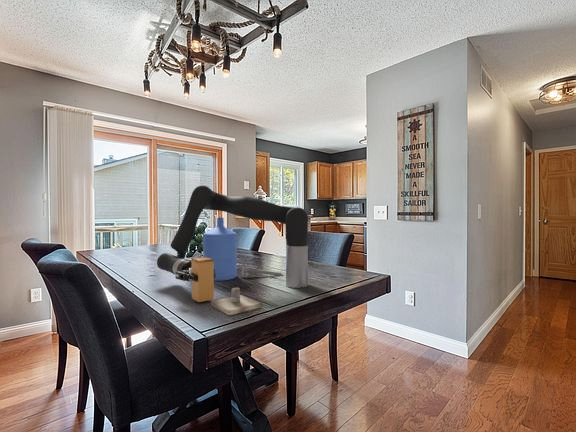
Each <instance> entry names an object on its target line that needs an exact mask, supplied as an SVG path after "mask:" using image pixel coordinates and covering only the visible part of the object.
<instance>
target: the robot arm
mask: <svg viewBox="0 0 576 432" xmlns="http://www.w3.org/2000/svg"><path fill="white" fill-rule="evenodd" d="M203 210H209V211H218V212H224V213H228V214H232V215H235V216H237V217H240V218H241V217H242V218H246V219H249V220H254V221H262V222H275V223H280V224H283V225H285V286H286V287H288V288H292V289H293V288H294V289H299V288H300V289H302V288H308V287H309V262H308V250H309V237H308V236H309V235H308V233H309V231H308V230H309V229H308V228H309V227H308V226H309V225H308V224H309V220H310V218H309V214H308V212H307V211H306V210H305V209H304V208H302V207H294V206H293V207H292V206H283V205H279V204H276V203H272V202H270V201H267V200H263V199H260V198H256V197H252V196H246V195H236V196H235V195H234V196H232V195H225V194H222V193H218V192H216V191H214V190H212V189H211V188H210V187H208V186H207V185H198V186H196V187H195V188H194V189H193V191H192V192H191V195H190V198H189V202H188V204H187V207H186V210H185V214H184V216H183V218H182V221H181V223H180V225H179V227H178V229H177V231H176V233H175V235H174V237H173V239H172V240H171V243H170V248H171V249H173V250H174V251H176V255H173V254H171V253H168V252H164V253H161V254H160V255H159V256H158V257H157V260H156V266H157V267H158V268H159V269H160V270H163V271H164V272H165V271H166V272H168V273H171V274H173V275H175V279H176V280H179V281H183V282H192V280H193V281H195V282H198V275H196V274H194V273H192V263H191V259H187V258H186V255H187V254H186V253H187V251H188V248H189V246H190V244H191V242H192V240H193V238H194V236H195V232H196V229H197V224H198V220H199V217H200V215H201V213H202V212H203ZM215 277H216V273H215V269H214V279H215ZM307 286H308V287H307ZM301 287H302V288H301Z"/></svg>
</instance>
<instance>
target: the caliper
mask: <svg viewBox="0 0 576 432" xmlns="http://www.w3.org/2000/svg"><path fill="white" fill-rule="evenodd" d="M245 272H246V273H245ZM250 274H252V275H257V274H262V275H263V274H264V275H268V276H269V275H270V276H276V275H281V276H284V274H283V273H282V272H277V271H269V270H263V269H258V268H257V267H256V268H255V267H248V264H246V265H244V266H242V269H241V278H244V276H245V278H248V277H249V275H250Z"/></svg>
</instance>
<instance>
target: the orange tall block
mask: <svg viewBox="0 0 576 432" xmlns="http://www.w3.org/2000/svg"><path fill="white" fill-rule="evenodd" d="M190 260H191V263H192V273H194V274H196V275H198V282H195V281H193V280H192V281H191V299H192V300H194V301H196V302H197V303H202V302H205V301H212V300H214V299H215V289H214V288H215V284H214V283H215V281H214V259H211V258H208V257H203V256H202V257H196V258H191V259H190Z"/></svg>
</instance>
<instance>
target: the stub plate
mask: <svg viewBox="0 0 576 432" xmlns="http://www.w3.org/2000/svg"><path fill="white" fill-rule="evenodd" d="M230 291H231V294H230V295H231V296H229V297H225V298H220V299H216V300H210V307H212V308H214V309H217V310H218V311H220V312H222V313H223V314H225V315H228V316H232V315H237V314H241V313H244V312H248V311H253V310H257V309H260V308H261V307H262V303H261V302H259V301H258V300H257V301H256V300H255V299H252V298H249V297H247V296H245V295H242V294H241V288H240V287H232V288H231V290H230Z"/></svg>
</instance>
